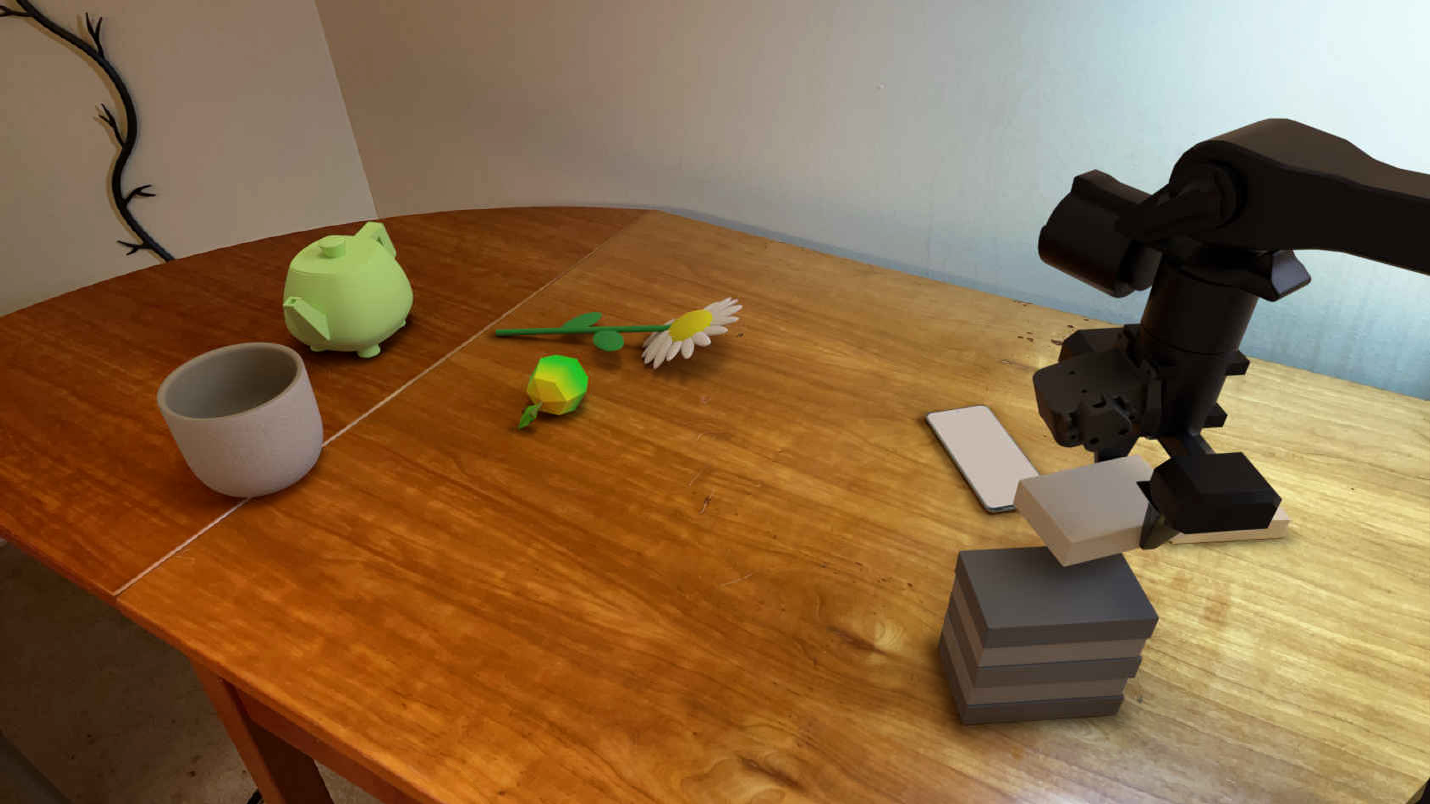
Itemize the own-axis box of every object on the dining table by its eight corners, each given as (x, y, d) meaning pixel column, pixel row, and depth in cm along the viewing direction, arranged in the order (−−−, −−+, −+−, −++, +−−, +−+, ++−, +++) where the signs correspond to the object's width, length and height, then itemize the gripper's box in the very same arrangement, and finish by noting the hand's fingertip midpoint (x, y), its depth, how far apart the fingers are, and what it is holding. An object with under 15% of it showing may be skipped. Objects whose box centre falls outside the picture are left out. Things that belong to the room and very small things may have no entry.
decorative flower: (482, 381, 105) (736, 378, 98) (471, 344, 102) (731, 339, 95) (522, 328, 115) (754, 322, 108) (512, 293, 112) (750, 285, 106)
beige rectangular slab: (1285, 538, 81) (1295, 519, 80) (1170, 545, 80) (1178, 526, 79) (1241, 483, 87) (1250, 464, 85) (1134, 489, 86) (1141, 470, 85)
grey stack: (1118, 715, 67) (1161, 617, 60) (962, 725, 66) (988, 628, 60) (1081, 638, 72) (1117, 541, 66) (937, 647, 72) (958, 550, 65)
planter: (231, 532, 83) (188, 440, 76) (178, 470, 90) (134, 380, 83) (357, 467, 90) (327, 377, 83) (298, 413, 97) (267, 327, 90)
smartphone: (989, 511, 83) (924, 413, 95) (988, 515, 83) (923, 417, 95) (1059, 498, 84) (985, 403, 96) (1057, 503, 85) (985, 407, 96)
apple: (565, 331, 95) (523, 377, 89) (610, 372, 97) (572, 421, 90) (532, 365, 100) (490, 412, 93) (575, 404, 101) (536, 453, 94)
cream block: (1187, 536, 64) (1198, 512, 62) (1063, 567, 62) (1071, 542, 60) (1129, 477, 69) (1138, 453, 67) (1012, 503, 66) (1018, 479, 65)
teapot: (365, 390, 100) (335, 291, 92) (258, 375, 102) (220, 277, 95) (447, 299, 115) (427, 207, 108) (351, 288, 118) (325, 197, 110)
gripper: (1011, 262, 63) (974, 436, 72) (1132, 431, 48) (1066, 622, 58) (1166, 254, 64) (1109, 428, 73) (1332, 419, 49) (1234, 609, 58)
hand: (1123, 511), depth 65 cm, fingers closed on cream block, 7 cm apart
